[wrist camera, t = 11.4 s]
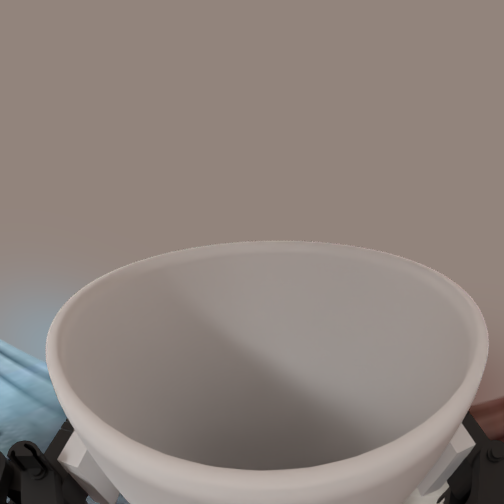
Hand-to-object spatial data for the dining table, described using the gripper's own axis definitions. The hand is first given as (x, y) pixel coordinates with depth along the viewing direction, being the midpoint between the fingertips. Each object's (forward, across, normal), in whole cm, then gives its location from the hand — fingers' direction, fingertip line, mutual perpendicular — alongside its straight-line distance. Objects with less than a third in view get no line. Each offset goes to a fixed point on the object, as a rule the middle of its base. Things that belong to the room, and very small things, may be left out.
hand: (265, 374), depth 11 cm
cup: (-4, 0, -10) cm, 11 cm away
